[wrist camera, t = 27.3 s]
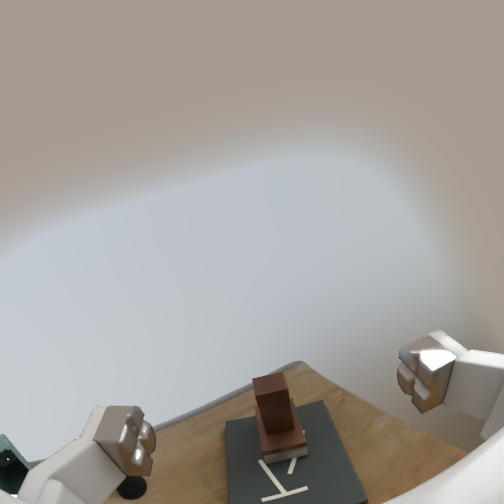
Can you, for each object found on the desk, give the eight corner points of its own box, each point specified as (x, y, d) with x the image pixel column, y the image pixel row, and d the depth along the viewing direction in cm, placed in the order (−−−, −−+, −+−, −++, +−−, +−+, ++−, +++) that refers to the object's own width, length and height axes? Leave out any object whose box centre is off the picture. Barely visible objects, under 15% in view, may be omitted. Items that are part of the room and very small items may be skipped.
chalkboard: (234, 533, 17) (231, 530, 17) (227, 425, 34) (225, 420, 34) (367, 502, 18) (368, 499, 17) (322, 403, 35) (322, 399, 35)
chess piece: (143, 472, 26) (107, 425, 23) (149, 496, 22) (108, 452, 19) (116, 478, 24) (76, 432, 22) (119, 501, 20) (74, 458, 18)
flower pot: (2, 420, 23) (8, 444, 18) (33, 459, 24) (47, 486, 19) (-30, 440, 16) (-28, 466, 11) (3, 478, 17) (13, 507, 12)
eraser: (266, 464, 26) (249, 413, 23) (258, 420, 33) (243, 366, 31) (308, 454, 26) (301, 402, 23) (294, 412, 34) (285, 357, 31)
